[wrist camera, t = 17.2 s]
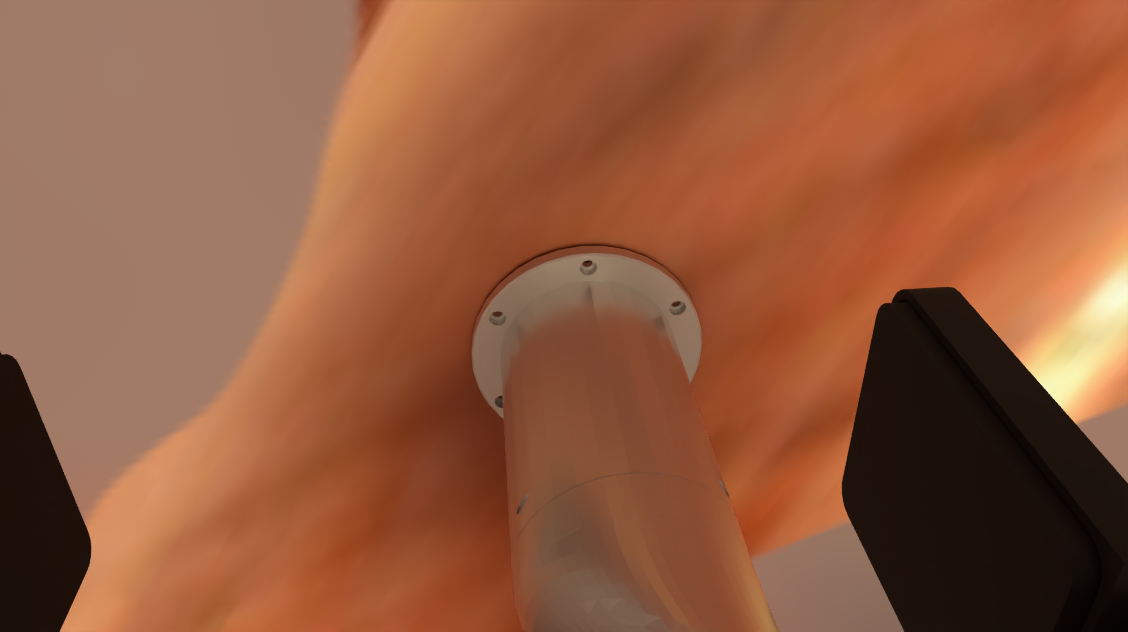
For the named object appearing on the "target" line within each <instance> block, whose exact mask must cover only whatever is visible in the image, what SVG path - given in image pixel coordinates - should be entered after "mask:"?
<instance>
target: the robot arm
mask: <svg viewBox="0 0 1128 632" xmlns="http://www.w3.org/2000/svg"><path fill="white" fill-rule="evenodd" d="M587 260H590V262H588V263H584V261H587ZM676 301H677V302H676ZM673 302H674V303H673ZM496 311H499V312H498V313H496ZM701 351H702V330H701V326H700V322H699V318H698V315H697V312H696V309H695V307H694V305H693V302H692V300H691V298H690V296H689V294H688V293H687V291H686V290H685V289H684V287H683V286H682V284H681V283H680V281H679V280H678V279H677V278H675V277H674V276H673V275H672V274H671V273H670V272H669V271H668V270H667V269H666V268H665V267H663V266H661V265H660V264H658V263H656V262H654V261H653V260H651V259H649V258H648V257H646V256H643V255H640V254H637V253H634V252H632V251H629V250H626V249H620V248H614V247H608V246H579V247H573V248H567V249H562V250H557V251H554V252H551V253H549V254H546V255H543V256H540V257H538V258H535V259H534V260H532V261H530V262H528V263H526V264H525V265H523V266H521V267H519V268H518V269H516V270H515V271H514V272H512V273H511V274H510V275H509V276H508V277H506V278H505V279H504V280H503V281H502V282H501V283H499V285H498V286H497V287H496V288H495V289H494V291H493V292H492V293H491V294H490V296H489V297H488V298H487V299H486V301H485V303H484V305H483V307H482V309H481V311H480V313H479V315H478V316H477V320H476V323H475V327H474V331H473V334H472V352H471V353H472V366H473V373H474V376H475V379H476V382H477V385H478V388H479V390H480V391H481V393H482V395H483V396H484V398H485V400H486V401H487V403H488V404H489V405H490V406H491V408H492V409H493V410H494V411H495V412H496V413H497V414H498V415H499V416H500V417H501V418H502V419H504V437H505V456H506V475H507V494H508V513H509V532H510V551H511V569H512V583H513V595H514V601H515V606H516V611H517V614H518V617H519V620H520V623H521V626H522V628H523V630H524V632H780V631H779V629H778V627H777V625H776V623H775V620H774V618H773V615H772V613H771V611H770V609H769V606H768V604H767V601H766V599H765V596H764V594H763V591H762V588H761V585H760V583H759V580H758V577H757V574H756V572H755V569H754V567H753V564H752V561H751V558H750V555H749V552H748V549H747V546H746V544H745V541H744V538H743V535H742V532H741V529H740V526H739V524H738V521H737V519H736V516H735V513H734V510H733V507H732V504H731V501H730V498H729V495H728V492H727V489H726V486H725V483H724V480H723V477H722V474H721V471H720V469H719V466H718V463H717V460H716V457H715V454H714V451H713V448H712V445H711V442H710V440H709V437H708V434H707V431H706V428H705V425H704V422H703V419H702V416H701V413H700V410H699V408H698V405H697V402H696V399H695V396H694V393H693V390H692V387H691V382H692V380H693V378H694V375H695V373H696V371H697V368H698V366H699V361H700V356H701ZM842 496H843V502H844V506H845V509H846V512H847V515H848V517H849V519H850V521H851V523H852V525H853V527H854V529H855V531H856V533H857V535H858V537H859V539H860V541H861V543H862V545H863V547H864V549H865V551H866V554H867V556H868V558H869V560H870V562H871V564H872V566H873V568H874V570H875V572H876V574H877V576H878V578H879V580H880V582H881V584H882V586H883V589H884V591H885V592H886V594H887V597H888V599H889V601H890V603H891V605H892V607H893V609H894V611H895V613H896V615H897V617H898V619H899V621H900V623H901V625H902V627H903V629H904V632H1128V483H1127V482H1126V481H1125V480H1124V478H1122V476H1121V475H1120V474H1119V473H1118V472H1117V471H1116V469H1115V468H1114V467H1113V466H1112V465H1111V464H1110V463H1109V462H1108V460H1107V459H1106V458H1105V457H1104V456H1103V455H1102V453H1101V452H1100V451H1099V450H1098V449H1097V448H1096V447H1095V446H1094V444H1093V443H1092V442H1091V441H1090V440H1089V439H1088V438H1087V437H1086V435H1085V434H1084V433H1083V432H1082V431H1081V430H1080V428H1079V427H1078V426H1077V425H1076V424H1075V423H1074V422H1073V420H1072V419H1071V418H1070V417H1069V416H1068V415H1067V414H1066V413H1065V411H1064V410H1063V409H1062V408H1061V407H1060V406H1059V405H1058V403H1057V402H1056V401H1055V400H1054V399H1053V398H1052V397H1051V396H1050V394H1049V393H1048V392H1047V391H1046V390H1045V389H1044V388H1043V386H1042V385H1041V384H1040V383H1039V382H1038V381H1037V380H1036V378H1035V377H1034V376H1033V375H1032V374H1031V373H1030V372H1029V371H1028V369H1027V368H1026V367H1025V366H1024V365H1023V364H1022V363H1021V361H1020V360H1019V359H1018V358H1017V357H1016V356H1015V355H1014V353H1013V352H1012V351H1011V350H1010V349H1009V348H1008V347H1007V346H1006V344H1005V343H1004V342H1003V341H1002V340H1001V339H1000V338H999V336H998V335H997V334H996V333H995V332H994V331H993V330H992V328H991V327H990V326H989V325H988V324H987V323H986V322H985V321H984V319H983V318H982V317H981V316H980V315H979V314H978V313H977V311H976V310H975V309H974V308H973V307H972V306H971V305H970V304H969V302H968V301H967V300H966V299H965V298H964V297H963V296H962V294H961V293H960V292H959V291H957V290H956V289H955V288H952V287H938V288H921V289H903V290H900V291H899V292H897V293H896V295H895V296H894V298H893V300H892V303H885V304H883V305H881V307H880V308H879V310H878V313H877V316H876V321H875V325H874V330H873V335H872V340H871V345H870V350H869V354H868V359H867V364H866V369H865V374H864V379H863V383H862V388H861V393H860V398H859V403H858V408H857V412H856V417H855V422H854V427H853V432H852V437H851V441H850V446H849V451H848V456H847V461H846V465H845V470H844V475H843V481H842ZM90 558H91V540H90V536H89V533H88V530H87V528H86V525H85V523H84V521H83V518H82V516H81V513H80V511H79V508H78V506H77V504H76V501H75V499H74V496H73V494H72V491H71V489H70V487H69V484H68V482H67V479H66V477H65V475H64V472H63V470H62V467H61V465H60V462H59V460H58V457H57V455H56V453H55V450H54V448H53V445H52V443H51V440H50V438H49V436H48V433H47V431H46V428H45V426H44V423H43V421H42V419H41V417H40V414H39V411H38V409H37V406H36V404H35V402H34V399H33V397H32V395H31V392H30V390H29V387H28V385H27V382H26V380H25V377H24V375H23V372H22V370H21V368H20V366H19V364H18V362H17V361H16V359H15V358H13V356H10V355H7V354H5V355H2V354H1V353H0V632H60V630H61V627H62V625H63V623H64V621H65V619H66V616H67V614H68V612H69V610H70V607H71V605H72V603H73V601H74V599H75V596H76V594H77V592H78V590H79V588H80V585H81V583H82V581H83V579H84V577H85V574H86V572H87V570H88V567H89V564H90Z"/></svg>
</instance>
